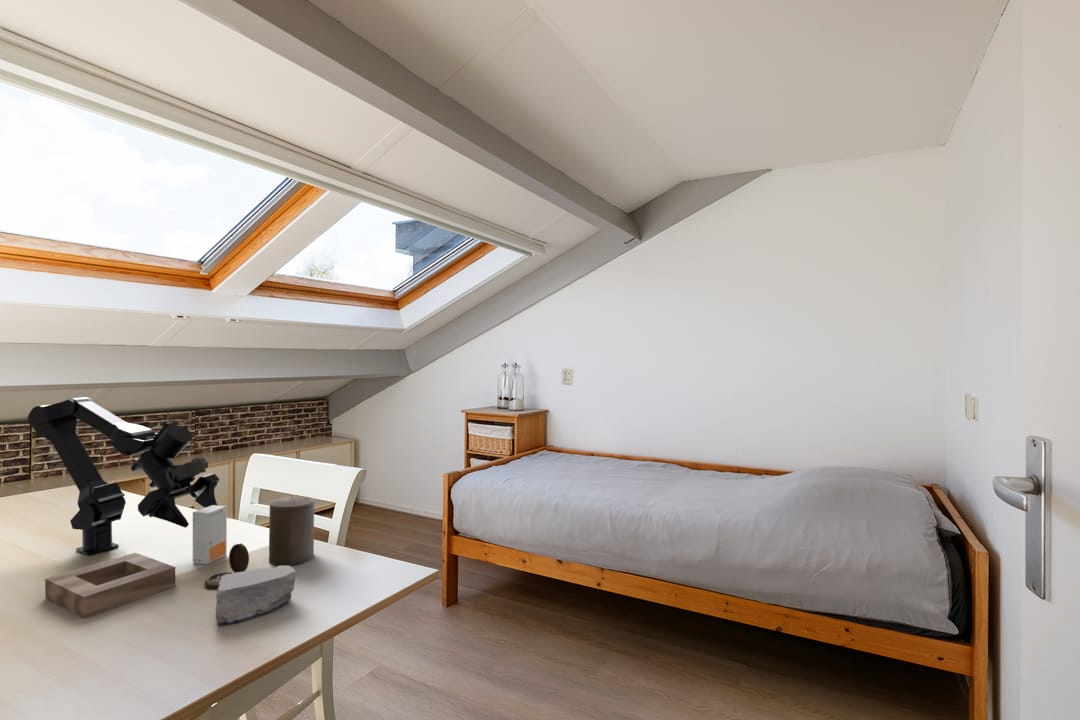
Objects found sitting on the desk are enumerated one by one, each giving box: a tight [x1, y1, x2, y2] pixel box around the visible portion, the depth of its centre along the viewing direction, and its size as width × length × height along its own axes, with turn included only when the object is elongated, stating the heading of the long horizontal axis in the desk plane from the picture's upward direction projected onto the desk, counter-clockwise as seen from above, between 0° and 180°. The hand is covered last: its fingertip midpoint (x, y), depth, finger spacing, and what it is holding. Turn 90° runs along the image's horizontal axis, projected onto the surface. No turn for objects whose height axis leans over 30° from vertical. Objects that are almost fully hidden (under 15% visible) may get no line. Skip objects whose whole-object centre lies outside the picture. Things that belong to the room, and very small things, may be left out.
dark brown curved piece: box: [204, 543, 250, 590], centre depth 119 cm, size 8×8×7 cm
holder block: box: [44, 552, 176, 619], centre depth 114 cm, size 16×16×4 cm
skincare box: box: [192, 504, 228, 565], centre depth 132 cm, size 6×4×12 cm
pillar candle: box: [268, 495, 315, 567], centre depth 133 cm, size 10×10×15 cm
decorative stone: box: [215, 565, 297, 626], centre depth 107 cm, size 15×7×10 cm
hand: (203, 519), depth 132 cm, fingers open, 9 cm apart
